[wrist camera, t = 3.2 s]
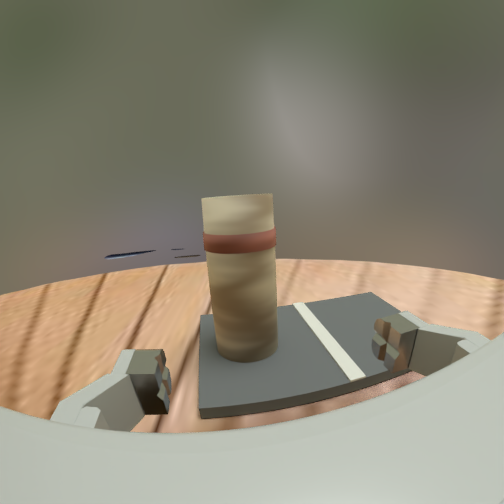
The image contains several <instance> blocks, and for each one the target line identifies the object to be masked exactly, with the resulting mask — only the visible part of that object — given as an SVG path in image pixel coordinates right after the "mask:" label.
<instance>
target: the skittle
mask: <svg viewBox="0 0 504 504" xmlns="http://www.w3.org/2000/svg"><path fill="white" fill-rule="evenodd" d="M202 211H203V223H204V232H203V238H204V239H203V240H204V249H205V250H206V255H207V267H208V276H209V285H210V294H211V303H212V311H213V319H214V327H215V334H216V342H217V349H218V352H219V354H220V355H221V356H222V357H224V358H225V359H227V360H230V361H234V362H239V363H250V362H257V361H261V360H263V359H266V358H268V357H270V356H271V355H273V354H274V353H275V352H276V350H277V348H278V324H277V289H276V262H275V245H276V229H275V226H274V218H273V198H272V194H251V195H235V196H222V197H210V198H202Z"/></svg>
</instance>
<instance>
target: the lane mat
mask: <svg viewBox="0 0 504 504" xmlns="http://www.w3.org/2000/svg"><path fill="white" fill-rule="evenodd" d="M400 312H401V311H399V310H398V309H396V308H395V307H393V306H392V305H390V304H389V303H387V302H385V301H384V300H382V299H381V298H379V297H378V296H376V295H375V294H373V293H372V292H368V293H363V294H357V295H352V296H346V297H340V298H334V299H328V300H322V301H315V302H309V303H303V302H300V303H293V304H292V305H288V306H280V307H277V324H278V348H277V350H276V352H275V353H274V354H273V355H271V356H270V357H268V358H266V359H263V360H261V361H257V362H250V363H239V362H234V361H230V360H227V359H225V358H224V357H222V356H221V355H220V354H219V352H218V349H217V342H216V334H215V327H214V319H213V314H209V315H201V320H200V349H199V411H200V415H201V419H204V418H217V417H228V416H237V415H245V414H252V413H259V412H266V411H272V410H277V409H283V408H288V407H293V406H298V405H303V404H307V403H311V402H316V401H320V400H324V399H328V398H332V397H335V396H339V395H342V394H346V393H349V392H353V391H356V390H359V389H362V388H366V387H369V386H372V385H375V384H377V383H380V382H383V381H386V380H389V379H391V378H394V377H397V376H399V375H402V374H404V373H407V372H409V371H412V370H410V369H408V368H407V369H404V370H401V371H398V372H395V373H391V372H390V371H389V370H388V369H387V368H386V367H385V366H384V365H383V363H384V361H381V360H378V359H377V358H376V357H375V356H374V354H373V352H372V347H371V344H372V338H373V337H374V335H375V334H376V332H375V330H374V323H375V321H376V319H380V318H383V317H387V316H390V315H394V314H397V313H400Z"/></svg>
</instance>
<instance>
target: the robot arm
mask: <svg viewBox="0 0 504 504" xmlns="http://www.w3.org/2000/svg"><path fill="white" fill-rule="evenodd" d="M374 330H375V332H376V334H375V335H374V337H373V338H372V344H371V347H372V352H373V354H374V356H375V357H376V358H377V359H378V360H381V361H384V363H383V365H384V366H385V367H386V368H387V369H388V370H389V371H390V372H391V373H395V372H398V371H401V370H404V369H407V368H408V369H410V370H412V371H415V372H417V373H420V374H422V375H424V376H426V377H424V378H422V379H419V380H417V381H415V382H413V383H410V384H408V385H406V386H403V387H401V388H398V389H396V390H393V391H391V392H388V393H386V394H383V395H380V396H377V397H375V398H372V399H369V400H366V401H363V402H360V403H357V404H354V405H350V406H347V407H344V408H340V409H337V410H333V411H330V412H326V413H322V414H318V415H314V416H310V417H305V418H301V419H296V420H292V421H287V422H281V423H276V424H270V425H264V426H257V427H250V428H242V429H234V430H224V431H212V432H194V433H143V432H130V431H131V430H132V429H133V428H134V427H135V426H136V425H137V424H138V423H139V422H140V421H141V419H142V418H143V417H144V416H145V415H161V414H168V411H169V403H170V401H169V398H168V395H170V394H171V377H170V372H169V369H168V368H167V367H166V366H165V363H166V357H165V353H164V351H163V349H137V350H136V349H128V350H122V351H121V353H120V355H119V358H118V360H117V362H116V364H115V366H114V368H113V370H112V372H111V374H106V375H104V376H103V377H101V378H99V379H98V380H96V381H94V382H93V383H91V384H89V385H88V386H86V387H84V388H83V389H81V390H79V391H77V392H76V393H74V394H72V395H71V396H69V397H67V398H65V399H64V400H62V401H60V403H59V404H58V406H57V408H56V410H55V412H54V413H53V415H52V417H51V419H50V420H47V419H42V418H38V417H34V416H31V415H27V414H24V413H20V412H17V411H14V410H10V409H7V408H4V407H1V406H0V504H504V332H503V333H502V334H500V335H499V336H497V337H496V338H494V339H493V340H489V339H488V338H486V337H484V336H483V335H481V334H479V333H478V332H474V331H468V330H462V329H456V328H451V327H445V326H440V325H434V324H430V325H429V324H427V323H426V322H424V321H422V320H421V319H419V318H418V317H416V316H415V315H413V314H411V313H410V312H408V311H403V312H400V313H397V314H394V315H390V316H387V317H383V318H380V319H376V321H375V323H374Z"/></svg>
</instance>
